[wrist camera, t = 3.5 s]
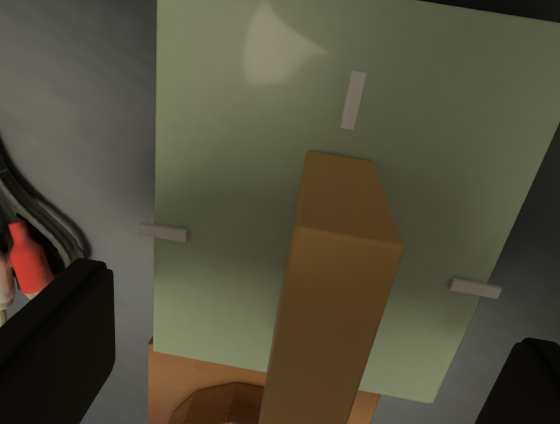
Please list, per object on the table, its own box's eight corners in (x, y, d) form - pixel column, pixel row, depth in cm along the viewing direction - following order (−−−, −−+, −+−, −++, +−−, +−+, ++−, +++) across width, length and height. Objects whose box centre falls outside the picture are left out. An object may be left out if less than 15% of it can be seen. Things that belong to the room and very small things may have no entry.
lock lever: (306, 148, 10) (294, 233, 6) (375, 160, 10) (409, 254, 6) (272, 337, 13) (247, 484, 9) (326, 347, 13) (326, 500, 9)
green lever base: (183, -28, 12) (138, -46, 9) (549, 30, 11) (624, 32, 9) (171, 304, 17) (140, 360, 14) (421, 351, 17) (440, 417, 14)
